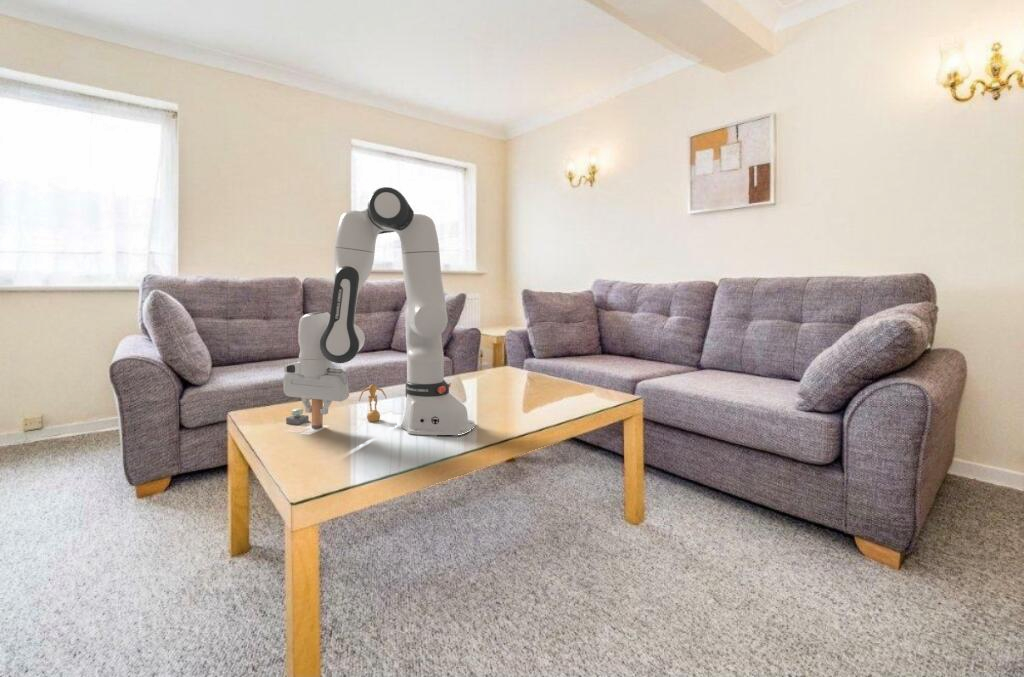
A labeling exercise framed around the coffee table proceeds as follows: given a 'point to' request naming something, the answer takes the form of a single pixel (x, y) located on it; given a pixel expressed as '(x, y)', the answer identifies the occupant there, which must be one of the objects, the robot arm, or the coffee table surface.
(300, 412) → the button
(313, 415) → the cylinder
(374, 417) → the figurine
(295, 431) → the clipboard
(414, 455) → the coffee table surface
